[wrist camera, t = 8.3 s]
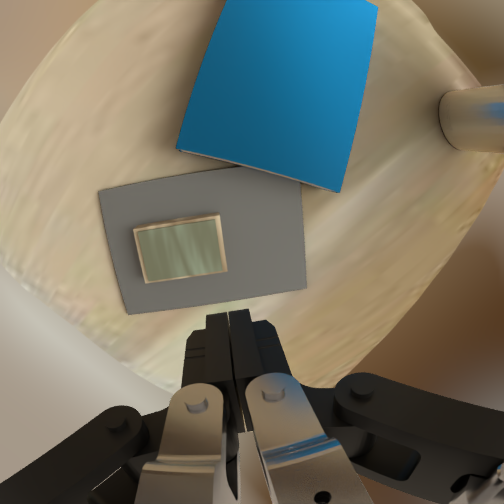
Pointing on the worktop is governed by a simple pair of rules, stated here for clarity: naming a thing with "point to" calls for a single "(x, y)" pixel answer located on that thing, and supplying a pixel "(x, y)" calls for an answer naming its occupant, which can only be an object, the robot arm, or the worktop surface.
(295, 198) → the mat
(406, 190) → the worktop surface
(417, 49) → the worktop surface
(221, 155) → the book
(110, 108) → the worktop surface
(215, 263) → the tile
